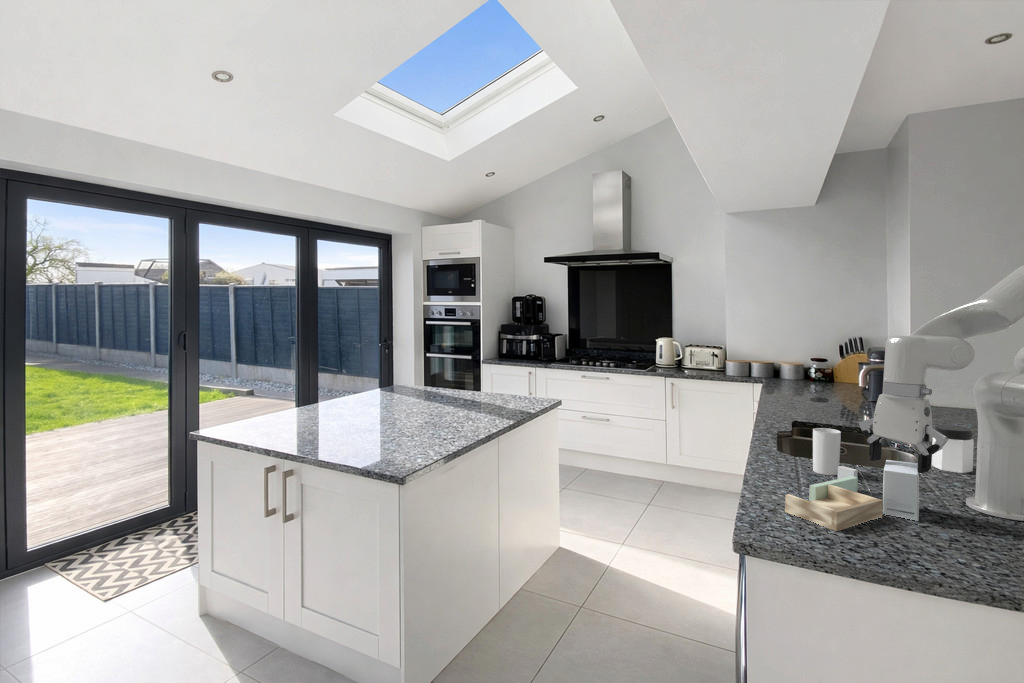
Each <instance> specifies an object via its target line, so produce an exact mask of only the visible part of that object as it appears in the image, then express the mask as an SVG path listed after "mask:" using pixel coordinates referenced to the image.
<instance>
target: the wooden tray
mask: <svg viewBox="0 0 1024 683" xmlns="http://www.w3.org/2000/svg"><path fill="white" fill-rule="evenodd" d="M784 500H785V501H784V503H785V504H784V513H787V514H789V515H791V516H794V515H795V516H794V517H796V518H797V517H798V518H799V517H801V519H802V518H803V519H802V520H805V519H806V520H805V521H807V520H809V521H808V522H810V521H811V522H810V523H813V522H814V523H813V524H815V523H816V524H815V525H818V524H819V525H818V526H821V527H823V526H824V527H823V528H826V529H829V530H831V531H834V532H838V531H843V530H845V529H849V527H850V528H852V526H853V527H856V526H859V525H858V524H860V525H862V524H861V523H863V524H865V523H864V522H867V521H870V520H874V519H877V520H879V519H878V518H881V519H883V499H880V498H876V497H873V496H870V495H868V494H867V495H866V494H863V493H860V492H858V491H857V492H854V491H850V490H847V489H844V488H840V487H837V486H833V485H828V494H827V498H822V499H818V500H814V501H809V500H807V499H803V498H801V497H798V496H795V495H793V494H789V493H788V494H785V499H784ZM874 521H875V520H874ZM870 522H871V521H870ZM867 523H868V522H867ZM855 525H856V526H855Z"/></svg>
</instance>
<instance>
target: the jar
mask: <svg viewBox="0 0 1024 683" xmlns="http://www.w3.org/2000/svg"><path fill="white" fill-rule="evenodd" d="M934 429H935V430H936V431H938V432H939V433H941V434H943V435H944V436H946V437H947V438H948V441H947V442H946V444H945V445H944V446H943V447H942V449H941V450H939V451H937V452H936V453H935V454H932V460H931V467H933V468H936V469H938V470H940V471H945V472H951V473H957V474H966V473H973V470H974V469H973V468H974V466H973V464H974V443H975V442H974V441H975V440H974V439H973V429H971V428H969V427H968V428H967V427H965V426H956V425H947V424H943V425H942V424H938V425H935V426H934ZM931 442H932V443H931V444H932V445H934V443H935V442H936V439H935V438H933V437H932V441H931ZM932 445H931V446H932Z"/></svg>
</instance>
